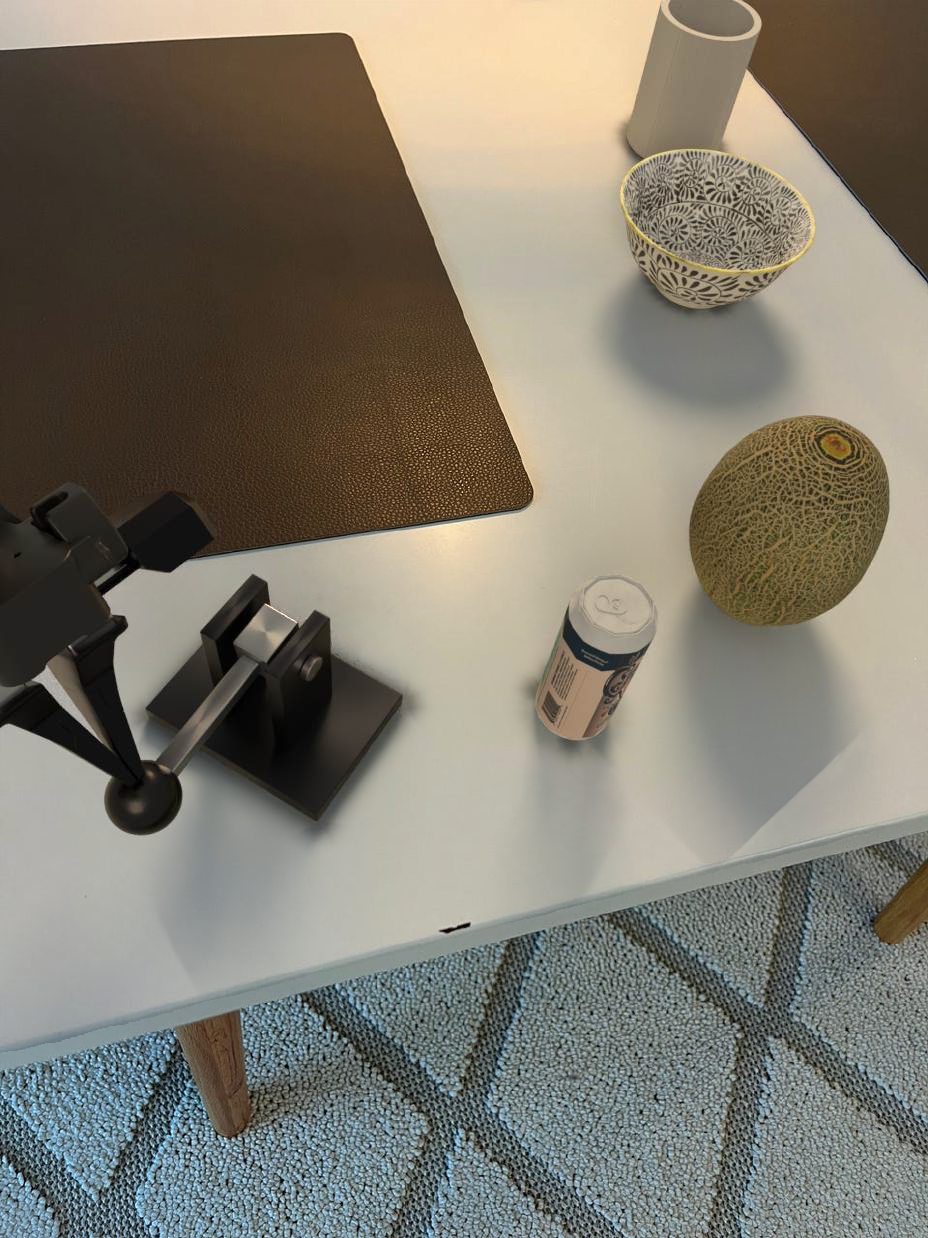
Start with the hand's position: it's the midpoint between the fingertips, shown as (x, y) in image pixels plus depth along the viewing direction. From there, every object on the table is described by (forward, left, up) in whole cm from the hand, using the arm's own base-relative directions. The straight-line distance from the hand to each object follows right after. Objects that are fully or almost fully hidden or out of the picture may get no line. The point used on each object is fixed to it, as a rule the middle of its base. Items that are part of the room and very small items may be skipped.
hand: (135, 780), depth 44 cm
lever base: (0, +10, -9) cm, 14 cm away
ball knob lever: (0, +5, -4) cm, 6 cm away
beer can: (+15, +20, -10) cm, 27 cm away
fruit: (+21, +35, -10) cm, 42 cm away
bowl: (+5, +63, -10) cm, 64 cm away
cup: (-5, +82, -10) cm, 83 cm away
